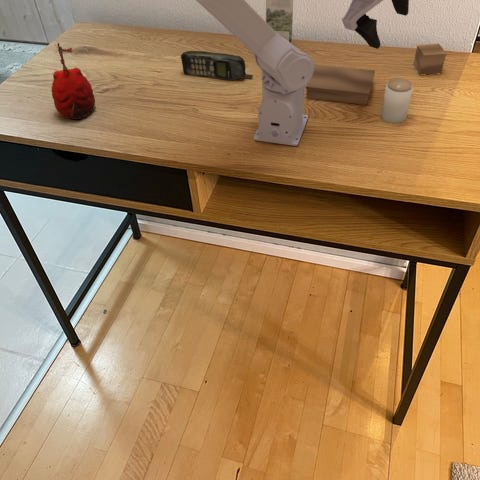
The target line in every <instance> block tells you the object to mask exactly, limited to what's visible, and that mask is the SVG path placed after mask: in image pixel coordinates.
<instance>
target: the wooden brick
mask: <svg viewBox="0 0 480 480" xmlns="http://www.w3.org/2000/svg"><path fill="white" fill-rule="evenodd" d="M375 72H376V70H375V69H374V70H373V69H366V68H365V69H363V68H352V67H351V68H350V67H344V66H343V67H342V66H335V65H334V66H333V65H324V64H314V72H313V75H312V77H311V79H310V81H309V82H308V83H307V84H306V87H305V90H306V97H305V98H306V99H312V100H321V101H331V102H337V103H338V102H339V103H347V104H355V105H356V104H357V105H362V106H364V105H366V106H367V105H368V101H369V98H370V94H371V91H372V86H373V81H374V77H375V74H376V73H375Z"/></svg>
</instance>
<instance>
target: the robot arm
mask: <svg viewBox="0 0 480 480" xmlns="http://www.w3.org/2000/svg"><path fill="white" fill-rule="evenodd" d="M195 1H196V2H197V3H198V4H199V5H201V7H203V8H204V9H205V10H206V12H208V13H209V14H210V15H211V16H212V17H214V19H216V20H217V21H218V22H219V23H221V25H222V26H223V27H224V28H226V30H228V31H229V32H230V33H231V34H232V35H233V36H234V37H236V39H237V40H238V41H240V43H242V44H243V45H244V46H245V47H246V48H247V49H248V51H250V52H251V54H252V55H253V57H254V62H255V64H256V65H257V66H258V68H259V69H261V90H262V93H261V97H262V98H261V102H260V105H259V107H258V110H257V111H258V113H257V114H258V115H257V116H258V127H257V129H256V131H255V134H254V136H253V140H254V141H259V142H266V143H273V144H279V145H287V146H288V145H289V146H294V147H295V146H299V143H300V142H301V141H300V140H301V137H302V136H303V134H304V130H305V127H306V124H307V122H308V120H309V115H308V114H304V103H305V102H304V101H305V89H306V85H307V83H308V82H309V81H310V79H311V77H312V75H313V72H314V66H315V63H314V59H313V58H312V56H311V55H310V54H308V53H306V52H304V51H303V50H301V49H300V48H298V47H297V46H296V45H294V44H293V43H292V44H291V43H290V42H289V41H287V40H286V39H285V38H284V37H283V36H282V35H281V34H279V33H276V32H275V31H274V30H273V29H272V28H271V27H270V26H269V25H268V24H267V23H266V20H264V18H262V16H261V15H260V14H259V13H257V11H255V9H254V8H253V7H252V6H251V5H250V4H249V3H248V2H247V1H246V0H195ZM383 1H384V0H351V2H350V5H349V7H348V9H347V11H346V13H345V14H344V16H343V17H342V18H341V22H342V23H343V27H344V28H345V29H347V30H350V31H354V32H355V33H357V34H358V35H359V36H360V37H361V38H363V40H364V41H365V42H366V43H367V44H368V46H369V47H371V48H374V49H379V48H380V47H381V40H380V37H379V34H378V29H377V24H378V23H377V22H378V20H377V19H374V18H372V17H370V16H369V15H367V13H368V12H370V11H371V10H372V9H374V8H375V7H376V6H378V5H379V4H381V3H382V2H383ZM391 2H392V3H391V4H392V5H393V9H394V10H395V13H396V14H397V15H401V16H405V17H406V16H407V15H408V14H409V8H410V6H409V5H410V0H391Z"/></svg>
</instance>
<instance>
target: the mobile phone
mask: <svg viewBox="0 0 480 480" xmlns="http://www.w3.org/2000/svg"><path fill="white" fill-rule="evenodd" d="M180 59H181V64H182V71H183V74H185V75H187V76H196V77H202V78H203V77H205V78H211V79H218V80H223V81H231V80H232V81H233V80H240V79H242V78H247V79H252V78H253V77H254V76H253V75H254V74H248V73H246V62H245V60H244V58H243V57H242V56H240V55H234V54H229V53H223V52H212V51H211V52H210V51H206V50H205V51H201V50H187V51H185V52H183V53H182V54H180Z"/></svg>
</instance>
